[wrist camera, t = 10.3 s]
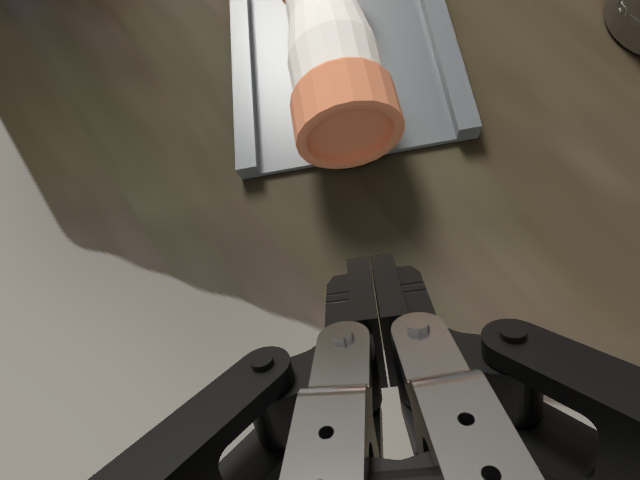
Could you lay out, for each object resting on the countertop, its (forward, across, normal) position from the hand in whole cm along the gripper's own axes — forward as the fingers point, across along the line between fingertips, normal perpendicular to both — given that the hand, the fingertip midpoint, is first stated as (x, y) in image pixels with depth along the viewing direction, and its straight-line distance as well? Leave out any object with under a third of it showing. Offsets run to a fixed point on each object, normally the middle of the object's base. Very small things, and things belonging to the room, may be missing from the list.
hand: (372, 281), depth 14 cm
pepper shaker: (+15, 0, -2) cm, 15 cm away
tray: (+26, 0, -7) cm, 27 cm away
